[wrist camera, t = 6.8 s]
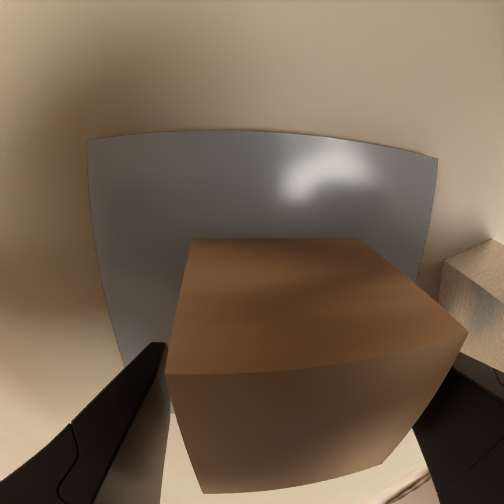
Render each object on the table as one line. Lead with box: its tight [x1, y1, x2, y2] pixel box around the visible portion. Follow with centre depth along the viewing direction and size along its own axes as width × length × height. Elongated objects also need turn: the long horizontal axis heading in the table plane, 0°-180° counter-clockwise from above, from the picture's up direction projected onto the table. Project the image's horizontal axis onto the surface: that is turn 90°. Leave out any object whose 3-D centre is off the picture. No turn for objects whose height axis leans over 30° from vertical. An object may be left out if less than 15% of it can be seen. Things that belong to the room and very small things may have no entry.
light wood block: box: [438, 239, 504, 372], centre depth 8 cm, size 4×4×6 cm
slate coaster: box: [87, 130, 438, 414], centre depth 9 cm, size 11×11×1 cm
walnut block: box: [164, 238, 469, 494], centre depth 7 cm, size 5×5×5 cm
